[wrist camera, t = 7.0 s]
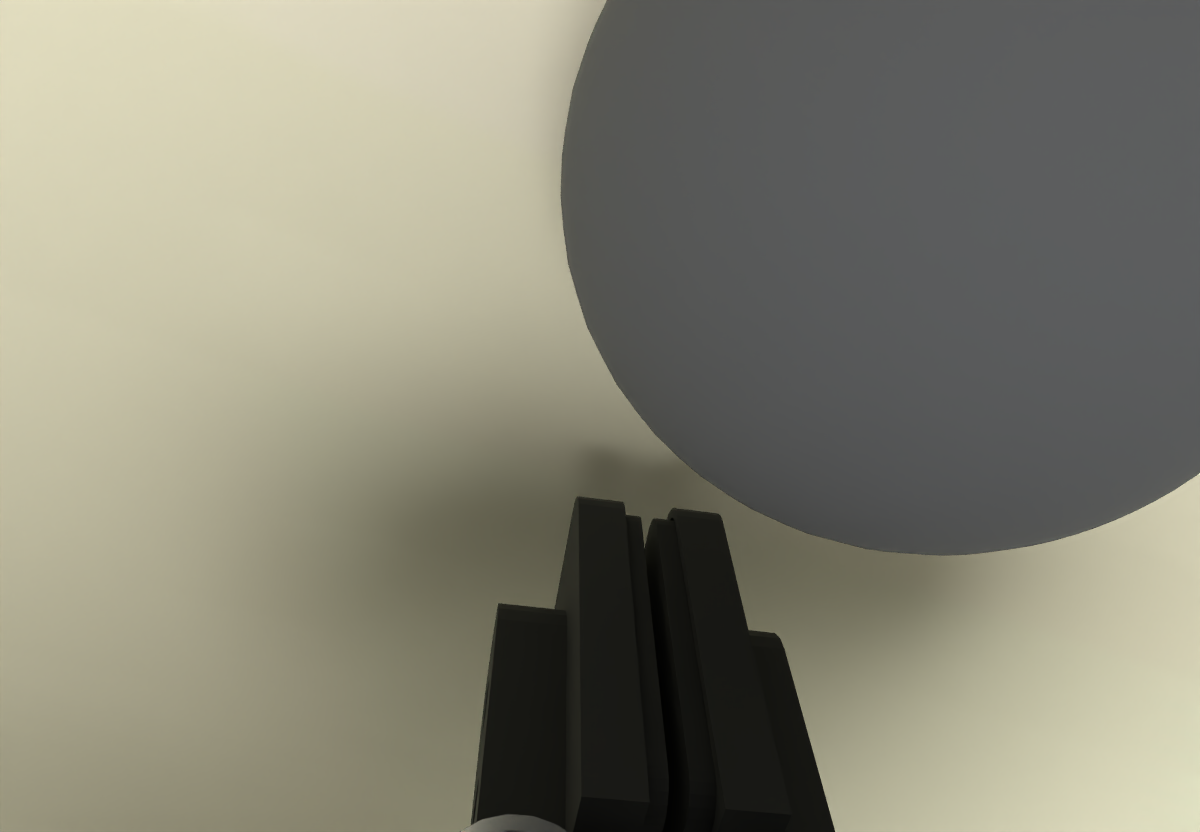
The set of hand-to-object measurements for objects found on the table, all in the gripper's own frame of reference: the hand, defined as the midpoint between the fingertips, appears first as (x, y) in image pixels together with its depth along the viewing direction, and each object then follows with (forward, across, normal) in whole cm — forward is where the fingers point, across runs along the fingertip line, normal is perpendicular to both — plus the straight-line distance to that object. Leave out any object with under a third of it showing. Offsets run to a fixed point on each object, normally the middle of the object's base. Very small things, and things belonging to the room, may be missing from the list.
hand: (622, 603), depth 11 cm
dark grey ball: (-1, -1, -6) cm, 6 cm away
